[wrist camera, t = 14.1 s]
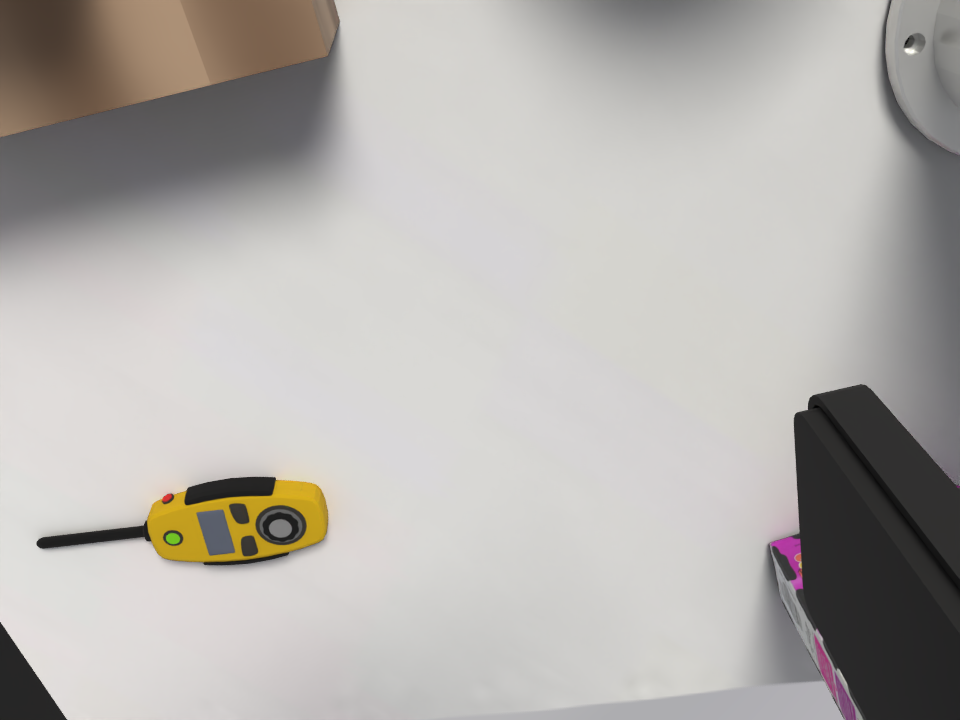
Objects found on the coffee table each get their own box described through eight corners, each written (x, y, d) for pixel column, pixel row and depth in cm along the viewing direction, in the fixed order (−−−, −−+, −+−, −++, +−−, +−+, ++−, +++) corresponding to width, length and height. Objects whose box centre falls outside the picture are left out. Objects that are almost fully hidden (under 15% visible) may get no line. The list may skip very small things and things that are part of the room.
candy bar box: (779, 600, 54) (917, 872, 39) (765, 539, 51) (907, 806, 37) (966, 544, 52) (1178, 803, 38) (961, 480, 50) (1186, 730, 36)
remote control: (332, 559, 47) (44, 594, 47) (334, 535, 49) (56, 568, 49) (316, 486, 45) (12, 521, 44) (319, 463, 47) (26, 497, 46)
